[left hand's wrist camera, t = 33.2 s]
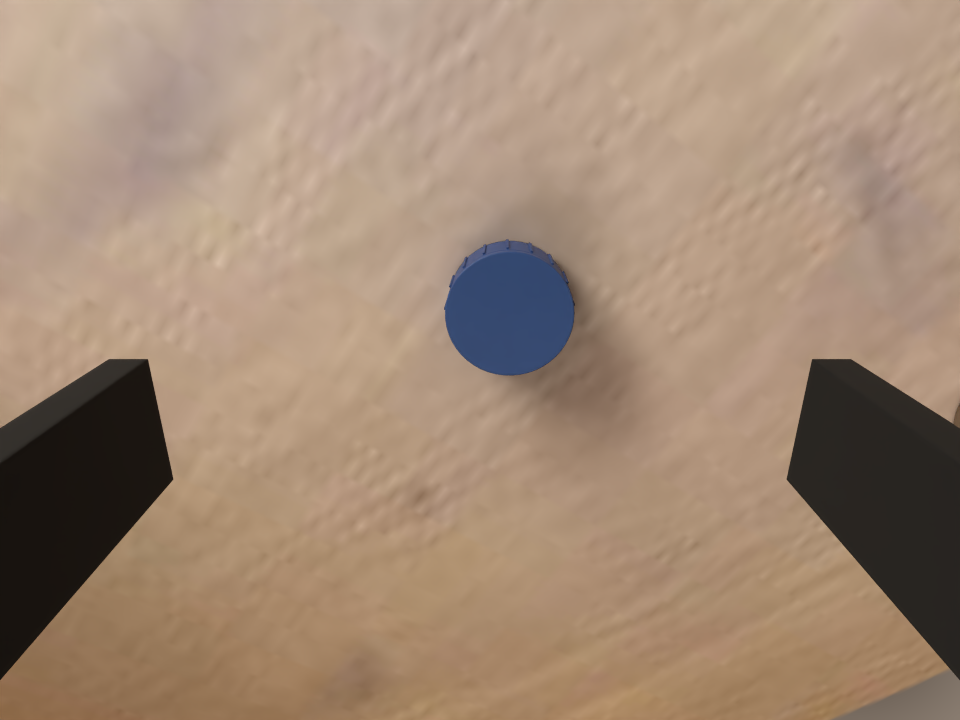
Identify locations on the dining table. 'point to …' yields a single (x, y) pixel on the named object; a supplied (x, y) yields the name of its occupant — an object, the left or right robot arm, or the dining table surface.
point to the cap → (509, 308)
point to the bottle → (957, 418)
